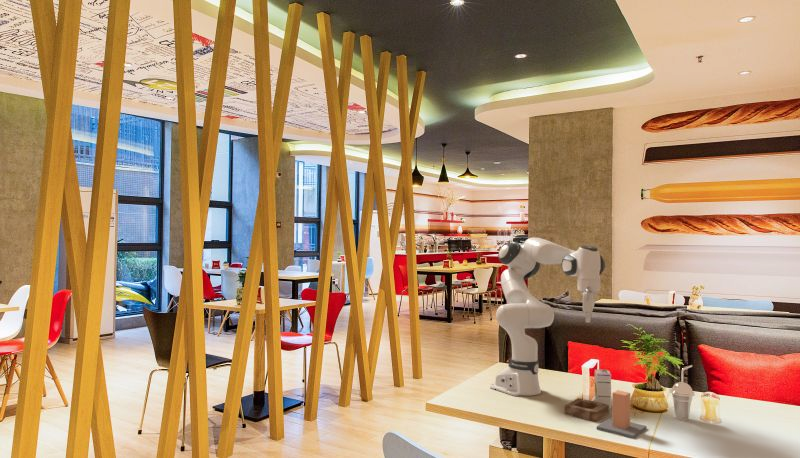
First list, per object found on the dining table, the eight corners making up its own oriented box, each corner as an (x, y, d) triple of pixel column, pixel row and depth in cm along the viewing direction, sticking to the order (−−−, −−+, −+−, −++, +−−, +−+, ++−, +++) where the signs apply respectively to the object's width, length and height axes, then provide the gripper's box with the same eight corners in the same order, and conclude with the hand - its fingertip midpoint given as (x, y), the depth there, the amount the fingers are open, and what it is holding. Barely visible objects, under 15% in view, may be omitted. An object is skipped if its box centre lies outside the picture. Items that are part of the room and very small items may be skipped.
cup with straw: (665, 414, 214) (666, 363, 214) (689, 415, 214) (689, 363, 214) (675, 422, 206) (676, 368, 206) (700, 422, 205) (700, 369, 205)
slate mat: (596, 429, 198) (596, 426, 198) (610, 420, 208) (610, 417, 208) (633, 438, 189) (633, 435, 189) (646, 428, 199) (646, 425, 199)
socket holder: (564, 414, 214) (564, 405, 214) (578, 406, 223) (578, 398, 223) (595, 421, 206) (596, 412, 206) (609, 413, 215) (609, 404, 215)
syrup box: (611, 409, 220) (611, 373, 220) (596, 408, 221) (596, 372, 221) (609, 405, 226) (609, 369, 226) (594, 404, 227) (594, 368, 227)
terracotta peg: (612, 426, 199) (612, 392, 199) (617, 422, 202) (617, 390, 202) (624, 429, 195) (625, 395, 195) (630, 426, 199) (630, 392, 199)
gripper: (596, 289, 212) (596, 325, 212) (597, 284, 231) (597, 317, 231) (579, 288, 214) (578, 324, 214) (582, 283, 233) (581, 316, 233)
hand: (588, 320), depth 222 cm, fingers open, 8 cm apart
